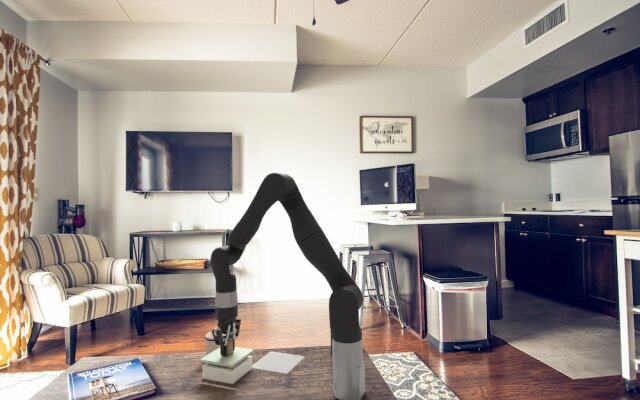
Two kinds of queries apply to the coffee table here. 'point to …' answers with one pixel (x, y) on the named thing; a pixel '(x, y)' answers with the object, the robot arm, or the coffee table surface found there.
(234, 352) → the lid
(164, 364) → the coffee table surface
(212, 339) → the teacup with lid
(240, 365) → the dish
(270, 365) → the mat
